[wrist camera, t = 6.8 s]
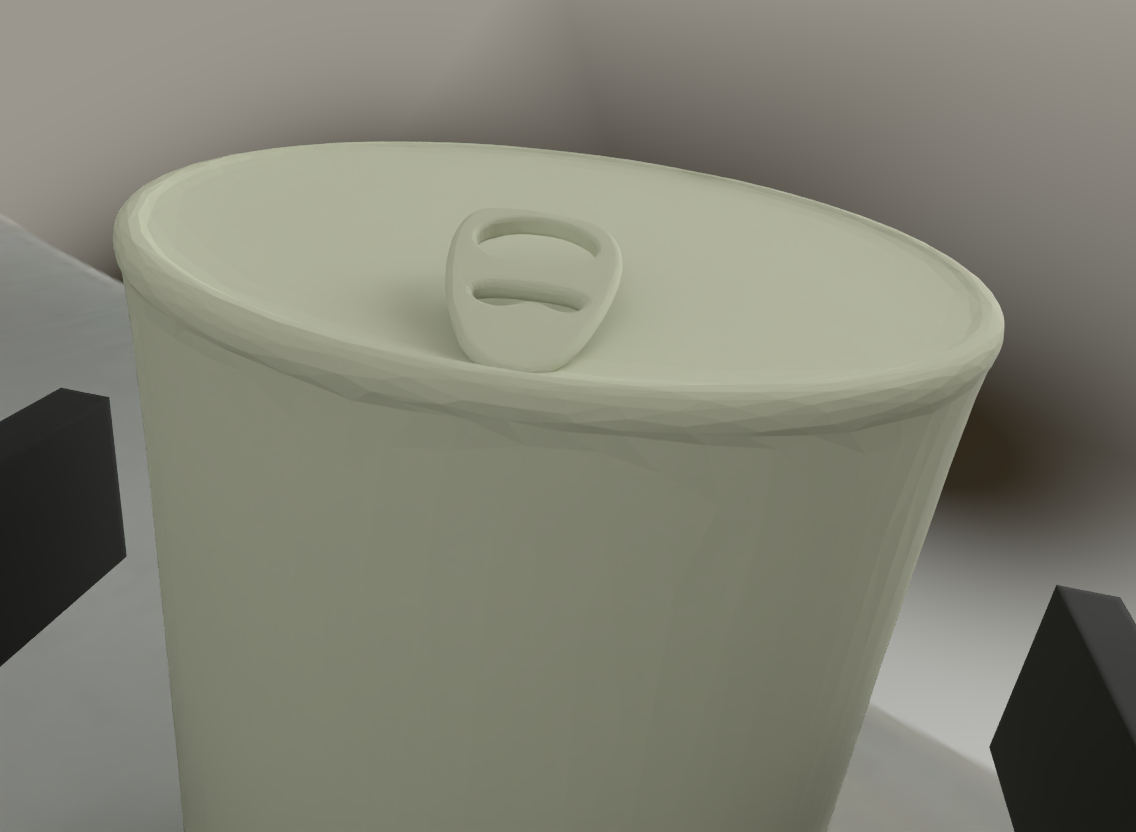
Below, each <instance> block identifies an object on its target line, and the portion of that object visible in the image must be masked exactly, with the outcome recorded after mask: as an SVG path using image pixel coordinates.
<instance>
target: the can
mask: <svg viewBox="0 0 1136 832" xmlns="http://www.w3.org/2000/svg"><path fill="white" fill-rule="evenodd" d="M113 247H114V251H115V254H116V259H117V263H118V265H119V267H120V269H121V270H122V275H123V281H124V287H125V293H126V299H127V304H128V310H129V316H130V322H131V329H132V337H133V345H134V353H135V362H136V370H137V378H138V386H139V394H140V402H141V410H142V418H143V426H144V434H145V442H146V450H147V459H148V469H149V479H150V488H151V498H152V508H153V518H154V528H155V538H156V548H157V558H158V568H159V578H160V588H161V598H162V607H163V617H164V627H165V637H166V647H167V657H168V667H169V677H170V687H171V697H172V707H173V717H174V727H175V736H176V746H177V756H178V766H179V778H180V790H181V802H182V814H183V826H184V832H827V829H828V825H829V822H830V819H831V816H832V813H833V810H834V807H835V804H836V801H837V798H838V795H839V792H840V789H841V786H842V783H843V780H844V777H845V774H846V771H847V768H848V765H849V761H850V758H851V755H852V752H853V749H854V746H855V743H856V740H857V737H858V734H859V731H860V728H861V725H862V722H863V719H864V716H865V713H866V710H867V707H868V704H869V700H870V697H871V694H872V691H873V688H874V685H875V682H876V679H877V676H878V673H879V670H880V667H881V663H882V661H883V658H884V655H885V652H886V650H887V647H888V644H889V641H890V638H891V635H892V632H893V629H894V626H895V623H896V621H897V618H898V615H899V612H900V609H901V606H902V603H903V600H904V597H905V595H906V592H907V589H908V586H909V583H910V580H911V577H912V575H913V571H914V569H915V566H916V563H917V560H918V557H919V554H920V551H921V549H922V546H923V543H924V540H925V537H926V534H927V531H928V528H929V525H930V523H931V520H932V517H933V514H934V511H935V508H936V505H937V502H938V499H939V496H940V494H941V491H942V488H943V485H944V482H945V479H946V476H947V473H948V471H949V467H950V465H951V462H952V459H953V457H954V454H955V451H956V449H957V446H958V444H959V441H960V438H961V436H962V433H963V430H964V427H965V425H966V422H967V419H968V417H969V414H970V412H971V409H972V406H973V404H974V401H975V398H976V396H977V394H978V392H979V389H980V387H981V385H982V383H983V381H984V378H985V376H986V374H987V372H988V370H989V369H990V368H991V366H992V365H993V363H994V361H995V359H996V357H997V355H998V353H999V351H1000V349H1001V346H1002V343H1003V335H1004V317H1003V314H1002V311H1001V308H1000V306H999V304H998V302H997V301H996V299H995V297H994V296H993V294H992V292H991V291H990V290H989V289H988V288H987V287H986V286H985V285H984V284H983V282H982V281H981V280H980V279H979V278H977V277H976V276H975V275H974V274H972V273H971V272H970V271H968V270H967V269H966V268H964V267H963V266H962V265H960V264H959V263H958V262H956V261H955V260H954V259H952V258H950V257H948V256H947V255H945V254H943V253H941V252H940V251H938V250H936V249H934V248H933V247H931V246H929V245H927V244H926V243H924V242H922V241H920V240H917V239H915V238H913V237H911V236H909V235H907V234H904V233H902V232H900V231H898V230H896V229H894V228H891V227H889V226H886V225H884V224H881V223H878V222H876V221H873V220H870V219H868V218H865V217H863V216H860V215H857V214H854V213H851V212H848V211H845V210H842V209H839V208H836V207H833V206H830V205H827V204H824V203H821V202H817V201H813V200H810V199H807V198H803V197H800V196H796V195H793V194H789V193H786V192H782V191H778V190H775V189H771V188H767V187H763V186H759V185H754V184H751V183H747V182H743V181H739V180H733V179H729V178H724V177H719V176H714V175H709V174H704V173H699V172H694V171H689V170H684V169H678V168H673V167H668V166H662V165H655V164H650V163H644V162H638V161H632V160H626V159H619V158H611V157H604V156H597V155H589V154H580V153H572V152H563V151H554V150H544V149H534V148H533V149H532V148H523V147H513V146H503V145H487V144H470V143H445V142H349V143H328V144H315V145H301V146H293V147H283V148H273V149H266V150H260V151H253V152H247V153H240V154H233V155H229V156H225V157H220V158H216V159H212V160H207V161H203V162H199V163H195V164H192V165H189V166H186V167H184V168H181V169H178V170H175V171H172V172H170V173H167V174H165V175H163V176H161V177H159V178H157V179H155V180H153V181H151V182H149V183H147V184H145V185H144V186H143V187H142V188H140V189H139V190H138V191H137V192H136V193H134V194H133V195H132V196H131V197H129V198H128V200H127V201H126V202H125V204H124V205H123V206H122V208H121V209H120V210H119V212H118V215H117V218H116V221H115V224H114V229H113Z"/></svg>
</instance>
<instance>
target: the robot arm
mask: <svg viewBox="0 0 1136 832" xmlns="http://www.w3.org/2000/svg"><path fill="white" fill-rule="evenodd" d="M125 557H126V547H125V538H124V528H123V519H122V510H121V501H120V492H119V483H118V474H117V465H116V455H115V446H114V437H113V428H112V419H111V410H110V401H109V397H105V396H100V395H95V394H90V393H85V392H79V391H74V390H69V389H64V388H60V389H58V390H56V391H54V392H53V393H51V394H49V395H47V396H45V397H44V398H42V399H40V400H38V401H36V402H35V403H33V404H31V405H29V406H27V407H26V408H24V409H22V410H20V411H18V412H17V413H15V414H13V415H11V416H9V417H7V418H6V419H4V420H2V421H0V666H2V665H3V664H4V663H5V662H6V661H7V660H8V659H10V658H11V657H12V656H13V655H14V654H15V653H16V652H18V651H19V650H20V649H21V648H22V647H23V646H24V645H26V644H27V643H28V642H29V641H30V640H31V639H32V638H34V637H35V636H36V635H37V634H38V633H39V632H40V631H42V630H43V629H44V628H45V627H46V626H47V625H48V624H50V623H51V622H52V621H53V620H54V619H55V618H56V617H58V616H59V615H60V614H61V613H62V612H63V611H64V610H66V609H67V608H68V607H69V606H70V605H71V604H73V603H74V602H75V601H76V600H77V599H78V598H79V597H81V596H82V595H83V594H84V593H85V592H86V591H87V590H89V589H90V588H91V587H92V586H93V585H94V584H95V583H97V582H98V581H99V580H100V579H101V578H102V577H103V576H105V575H106V574H107V573H108V572H109V571H110V570H111V569H113V568H114V567H115V566H116V565H117V564H118V563H119V562H121V561H122V560H123V559H124V558H125ZM990 751H991V754H992V757H993V761H994V764H995V767H996V771H997V774H998V778H999V781H1000V784H1001V788H1002V791H1003V794H1004V798H1005V801H1006V804H1007V808H1008V811H1009V815H1010V818H1011V821H1012V825H1013V828H1014V831H1015V832H1136V624H1135V622H1134V620H1133V619H1132V617H1131V615H1130V613H1129V612H1128V610H1127V609H1126V607H1125V605H1124V603H1123V602H1122V600H1121V598H1120V597H1115V596H1110V595H1105V594H1099V593H1094V592H1090V591H1084V590H1080V589H1074V588H1069V587H1064V586H1059V585H1056V588H1055V591H1054V592H1053V595H1052V597H1051V600H1050V602H1049V604H1048V607H1047V609H1046V612H1045V614H1044V616H1043V619H1042V621H1041V624H1040V626H1039V629H1038V631H1037V633H1036V636H1035V639H1034V641H1033V643H1032V646H1031V648H1030V650H1029V653H1028V655H1027V658H1026V660H1025V662H1024V665H1023V667H1022V670H1021V672H1020V674H1019V677H1018V679H1017V682H1016V684H1015V686H1014V689H1013V691H1012V694H1011V696H1010V698H1009V701H1008V703H1007V706H1006V708H1005V711H1004V713H1003V715H1002V718H1001V720H1000V723H999V725H998V727H997V730H996V732H995V735H994V737H993V739H992V742H991V744H990Z"/></svg>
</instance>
